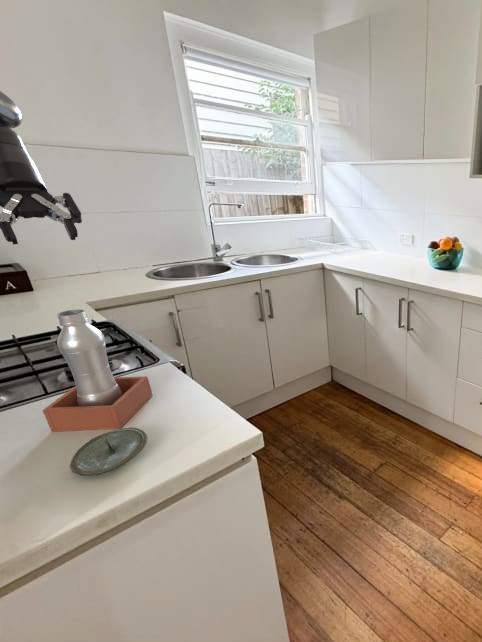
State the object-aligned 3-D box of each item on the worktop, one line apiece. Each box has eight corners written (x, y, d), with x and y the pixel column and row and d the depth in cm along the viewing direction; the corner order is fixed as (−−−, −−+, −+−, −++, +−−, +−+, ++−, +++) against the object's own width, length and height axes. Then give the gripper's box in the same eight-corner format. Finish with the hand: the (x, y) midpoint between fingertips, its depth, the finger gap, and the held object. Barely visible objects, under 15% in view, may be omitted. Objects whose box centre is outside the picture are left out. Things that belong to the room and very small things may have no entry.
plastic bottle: (81, 408, 74) (44, 311, 66) (123, 396, 78) (93, 304, 70) (84, 423, 70) (45, 322, 62) (128, 410, 74) (97, 313, 66)
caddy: (51, 431, 68) (42, 410, 67) (93, 397, 79) (86, 378, 77) (121, 428, 70) (113, 407, 68) (152, 395, 80) (147, 376, 79)
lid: (163, 447, 68) (159, 420, 67) (123, 475, 58) (118, 444, 57) (102, 450, 67) (98, 423, 66) (52, 478, 57) (46, 447, 57)
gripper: (-44, 158, 69) (-12, 230, 67) (59, 161, 79) (90, 224, 77) (-32, 188, 74) (-2, 255, 72) (62, 188, 84) (91, 247, 82)
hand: (45, 239), depth 74 cm, fingers open, 8 cm apart
